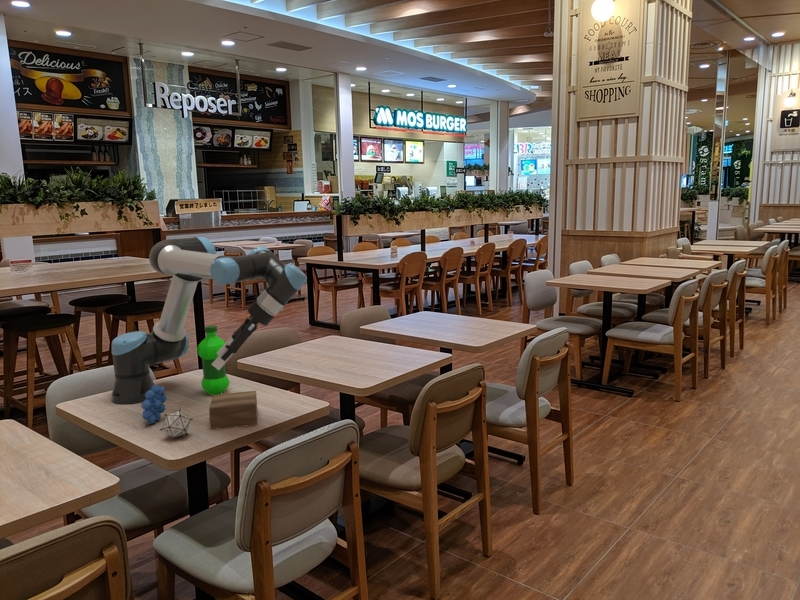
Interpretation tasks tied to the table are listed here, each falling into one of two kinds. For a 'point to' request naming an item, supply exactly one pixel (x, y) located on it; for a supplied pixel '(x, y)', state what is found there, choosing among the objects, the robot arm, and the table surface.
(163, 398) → the grapes
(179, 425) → the white wireframe polyhedron
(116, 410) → the table surface
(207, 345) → the plastic bottle
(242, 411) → the walnut block
